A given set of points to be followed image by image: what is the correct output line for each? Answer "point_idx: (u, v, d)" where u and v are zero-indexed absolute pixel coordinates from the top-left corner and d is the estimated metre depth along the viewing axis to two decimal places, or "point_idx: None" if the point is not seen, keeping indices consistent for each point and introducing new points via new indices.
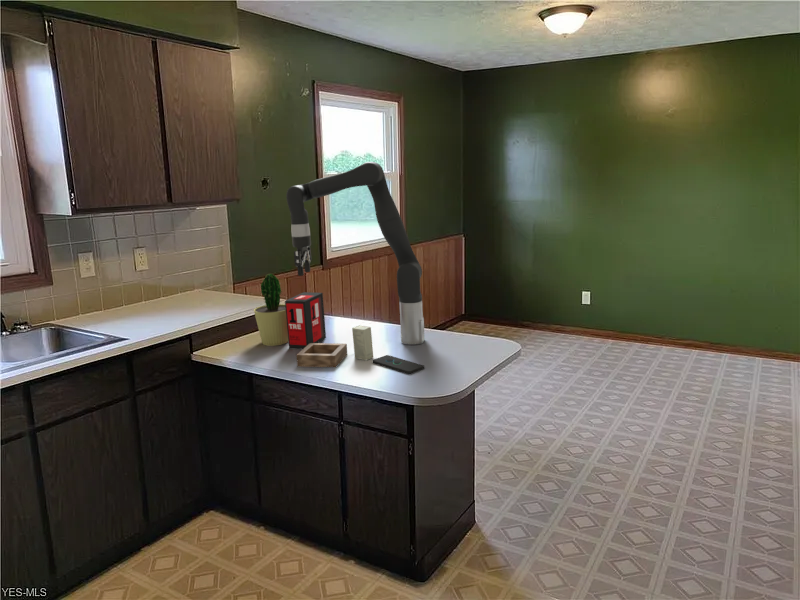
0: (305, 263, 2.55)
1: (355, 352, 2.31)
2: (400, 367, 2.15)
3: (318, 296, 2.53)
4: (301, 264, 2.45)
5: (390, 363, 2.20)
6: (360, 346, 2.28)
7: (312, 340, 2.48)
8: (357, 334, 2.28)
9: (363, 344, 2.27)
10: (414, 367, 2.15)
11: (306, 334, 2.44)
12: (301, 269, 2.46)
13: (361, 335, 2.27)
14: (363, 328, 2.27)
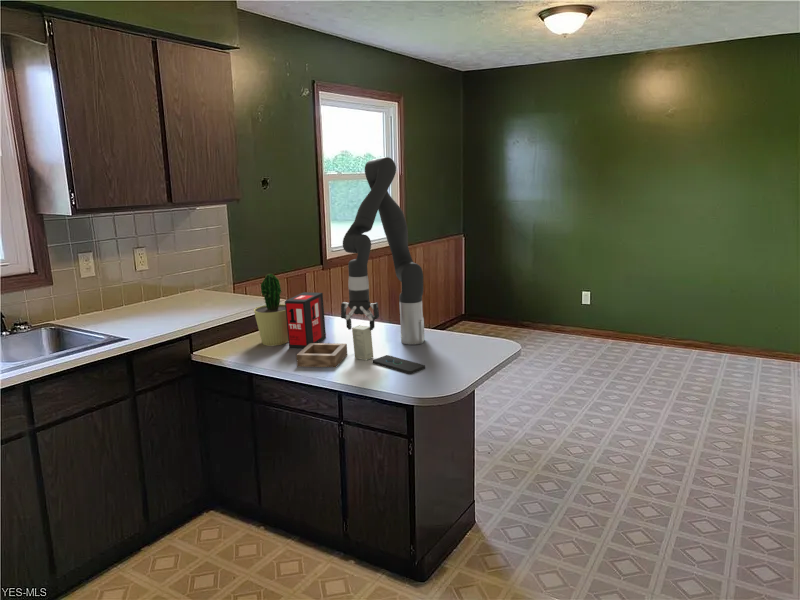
0: (349, 320, 2.29)
1: (355, 352, 2.31)
2: (401, 367, 2.15)
3: (318, 296, 2.53)
4: None
5: (390, 363, 2.20)
6: (360, 346, 2.28)
7: (312, 340, 2.48)
8: (357, 334, 2.28)
9: (363, 344, 2.27)
10: (415, 367, 2.15)
11: (306, 334, 2.44)
12: None
13: (361, 335, 2.26)
14: (363, 328, 2.27)
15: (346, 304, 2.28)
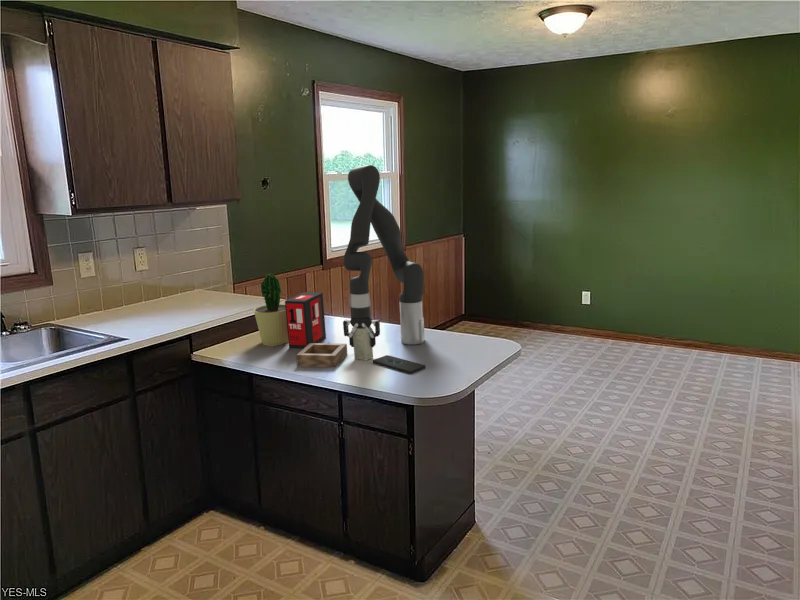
0: (352, 337, 2.30)
1: (355, 352, 2.31)
2: (401, 367, 2.15)
3: (318, 296, 2.53)
4: None
5: (391, 363, 2.20)
6: (360, 346, 2.28)
7: (312, 340, 2.48)
8: (357, 334, 2.28)
9: (363, 344, 2.27)
10: (415, 367, 2.15)
11: (306, 334, 2.44)
12: None
13: (361, 335, 2.26)
14: (363, 328, 2.27)
15: (348, 321, 2.29)
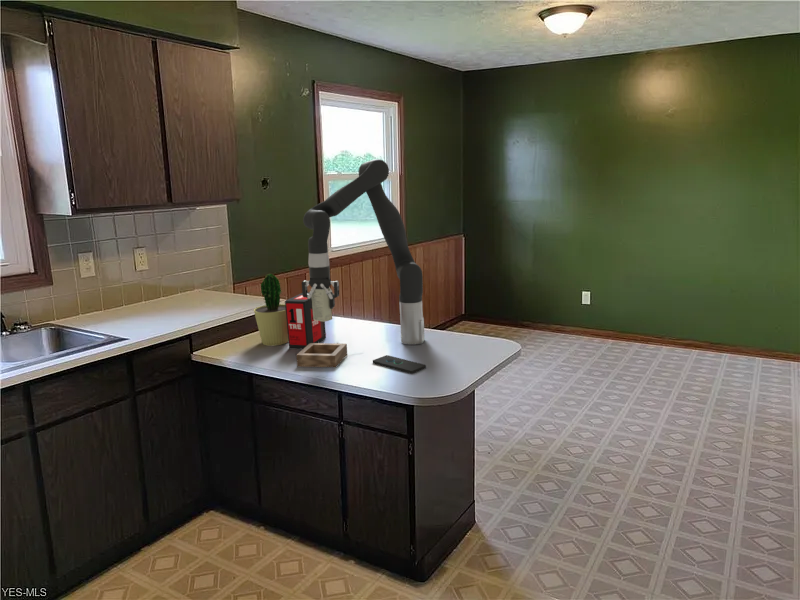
0: (311, 298, 2.25)
1: (314, 314, 2.26)
2: (402, 367, 2.16)
3: None
4: None
5: (391, 363, 2.20)
6: (318, 308, 2.24)
7: (312, 340, 2.48)
8: (316, 295, 2.23)
9: (321, 305, 2.23)
10: (416, 366, 2.15)
11: (306, 334, 2.44)
12: None
13: (320, 295, 2.22)
14: (322, 289, 2.23)
15: (307, 282, 2.24)
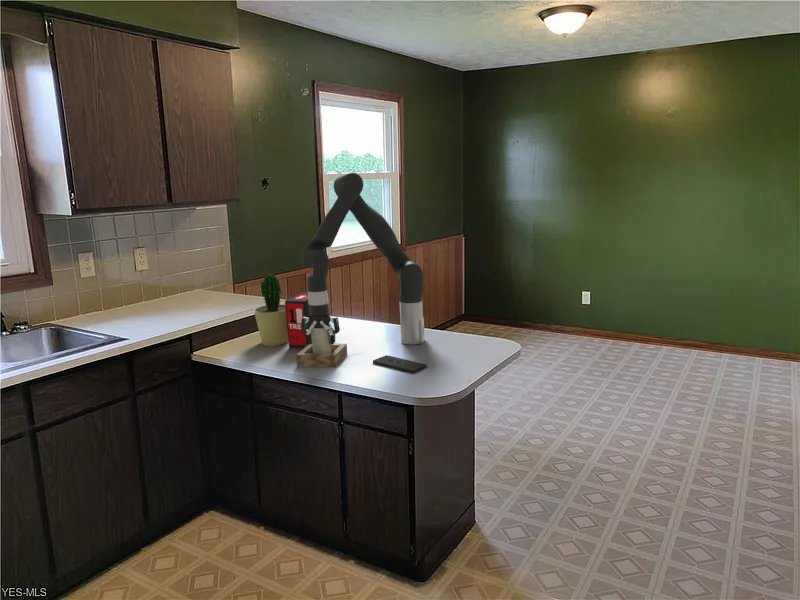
0: (310, 334, 2.29)
1: (314, 352, 2.30)
2: (403, 367, 2.16)
3: None
4: None
5: (392, 363, 2.20)
6: (318, 346, 2.27)
7: None
8: (315, 334, 2.27)
9: (321, 344, 2.26)
10: (417, 366, 2.15)
11: (306, 334, 2.44)
12: None
13: (319, 334, 2.26)
14: (321, 328, 2.26)
15: (306, 319, 2.28)
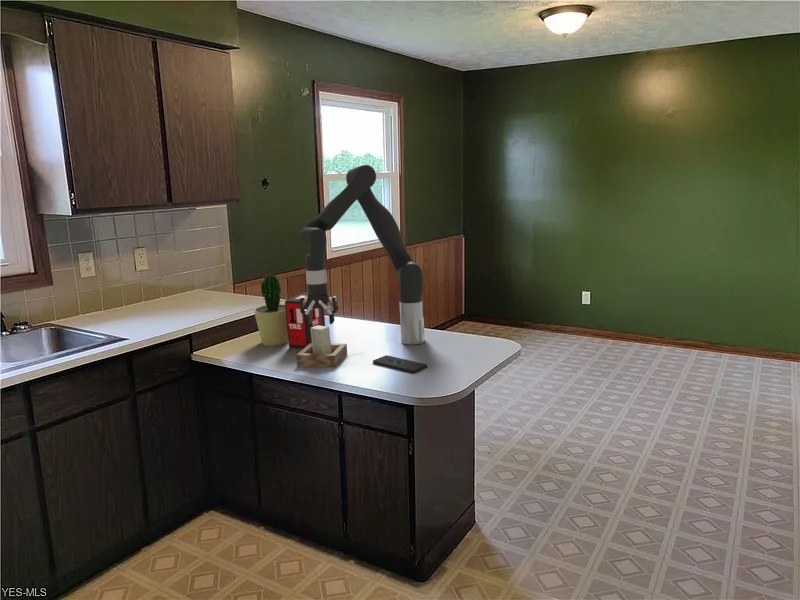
0: (309, 314, 2.27)
1: (314, 352, 2.30)
2: (403, 367, 2.16)
3: None
4: None
5: (392, 363, 2.20)
6: (318, 346, 2.27)
7: None
8: (315, 334, 2.27)
9: (321, 344, 2.26)
10: (417, 366, 2.15)
11: (306, 334, 2.44)
12: None
13: (319, 334, 2.26)
14: (321, 328, 2.26)
15: (305, 299, 2.26)
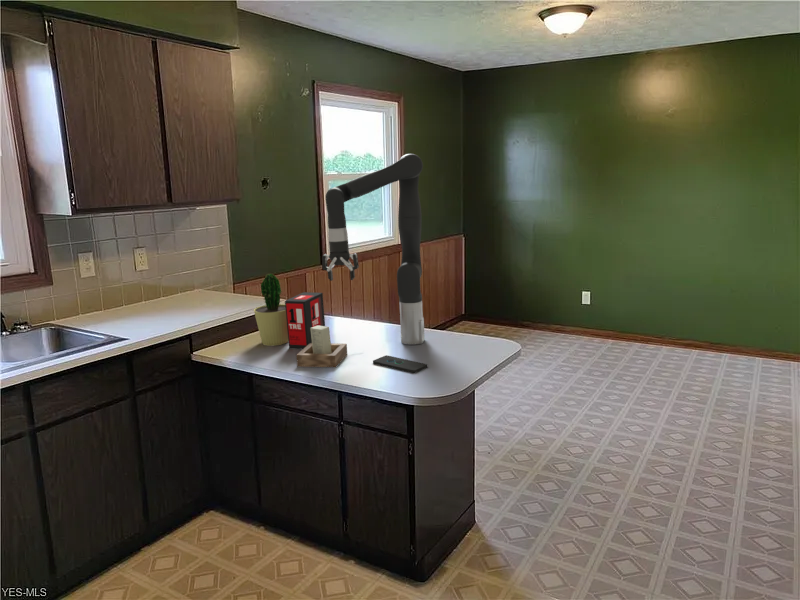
0: (330, 271, 2.40)
1: (314, 352, 2.30)
2: (403, 366, 2.16)
3: (318, 296, 2.53)
4: None
5: (392, 363, 2.20)
6: (318, 346, 2.27)
7: None
8: (315, 334, 2.27)
9: (321, 344, 2.26)
10: (418, 366, 2.16)
11: (306, 334, 2.44)
12: None
13: (319, 334, 2.26)
14: (321, 328, 2.26)
15: (327, 256, 2.39)
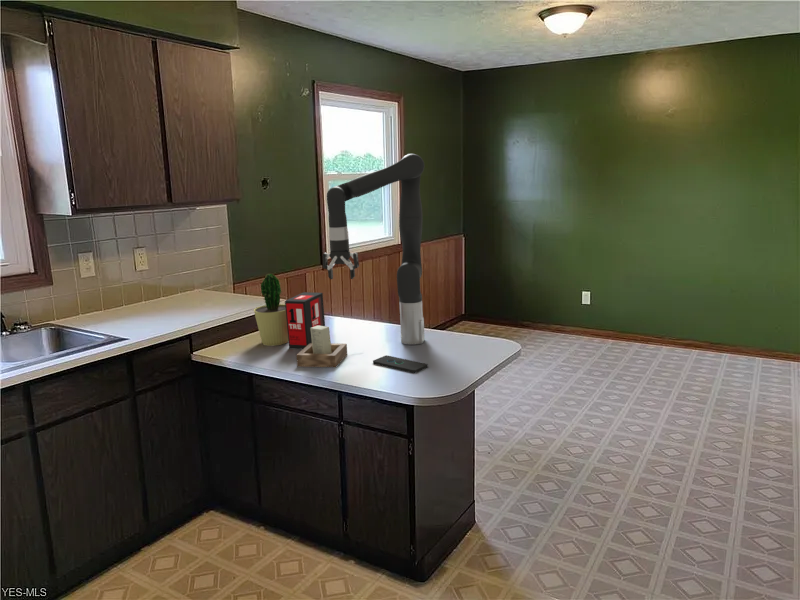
0: (331, 270, 2.40)
1: (314, 352, 2.30)
2: (404, 366, 2.16)
3: (318, 296, 2.53)
4: None
5: (392, 363, 2.20)
6: (318, 346, 2.27)
7: None
8: (315, 334, 2.27)
9: (321, 344, 2.26)
10: (418, 366, 2.16)
11: (306, 334, 2.44)
12: None
13: (319, 334, 2.26)
14: (321, 328, 2.26)
15: (327, 255, 2.39)
